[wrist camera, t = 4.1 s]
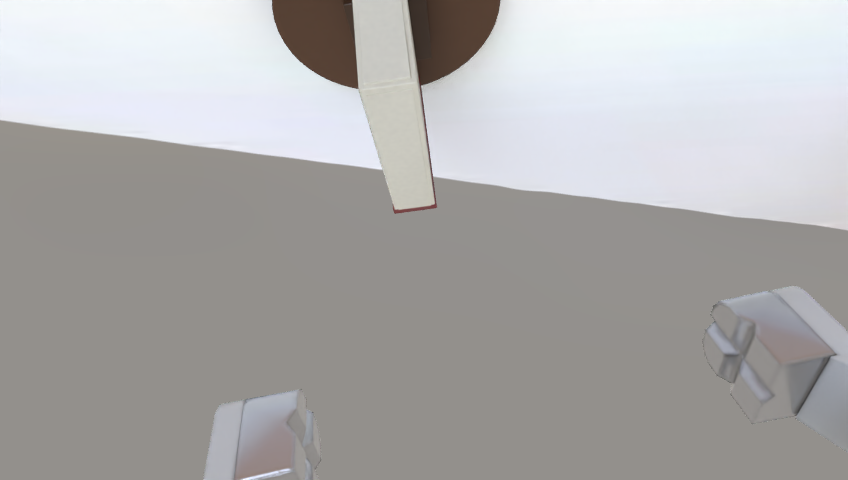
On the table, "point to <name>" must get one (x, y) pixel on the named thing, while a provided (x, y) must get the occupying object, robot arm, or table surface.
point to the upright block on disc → (389, 68)
